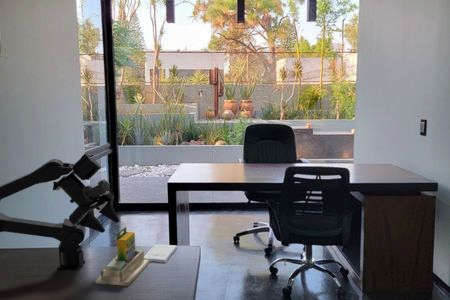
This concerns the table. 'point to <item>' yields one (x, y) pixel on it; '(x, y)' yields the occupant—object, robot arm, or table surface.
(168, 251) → the external hard drive
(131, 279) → the organizer
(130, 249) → the crayon box
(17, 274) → the table surface
